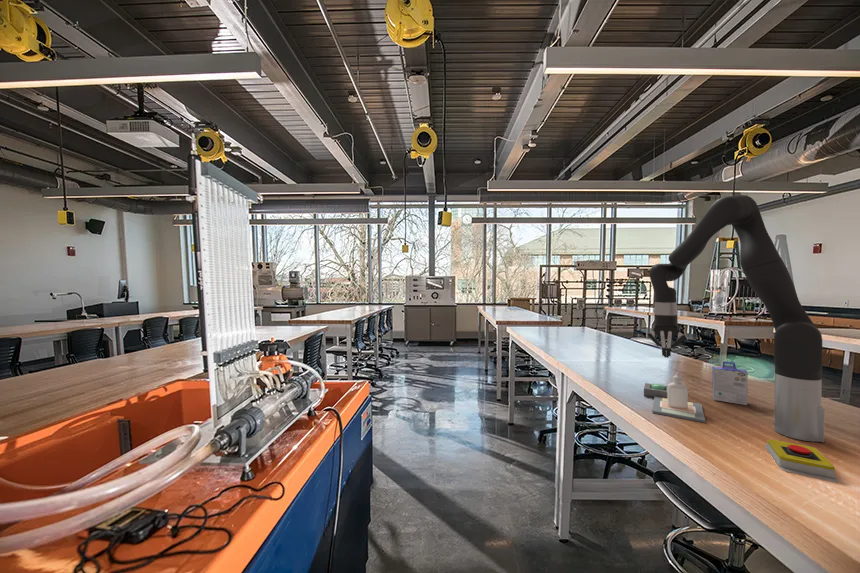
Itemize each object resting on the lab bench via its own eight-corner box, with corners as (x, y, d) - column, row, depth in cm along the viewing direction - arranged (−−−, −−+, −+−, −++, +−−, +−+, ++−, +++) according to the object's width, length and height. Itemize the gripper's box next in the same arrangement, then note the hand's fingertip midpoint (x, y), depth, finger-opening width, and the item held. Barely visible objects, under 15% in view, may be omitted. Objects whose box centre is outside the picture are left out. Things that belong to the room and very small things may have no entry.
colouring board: (701, 406, 120) (701, 403, 120) (705, 422, 105) (705, 420, 105) (654, 398, 128) (654, 395, 128) (652, 412, 114) (652, 410, 114)
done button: (664, 392, 132) (664, 385, 132) (664, 395, 129) (664, 387, 129) (651, 390, 135) (651, 383, 135) (651, 393, 131) (651, 385, 131)
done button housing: (672, 394, 133) (672, 386, 133) (672, 400, 125) (672, 392, 125) (645, 390, 138) (645, 382, 138) (643, 396, 131) (643, 388, 131)
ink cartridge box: (746, 401, 124) (746, 363, 124) (748, 406, 120) (748, 366, 120) (711, 396, 130) (711, 359, 130) (712, 400, 126) (712, 362, 126)
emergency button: (781, 454, 79) (763, 430, 91) (781, 472, 79) (763, 446, 91) (840, 465, 74) (812, 439, 86) (840, 485, 74) (812, 456, 86)
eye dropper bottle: (686, 410, 113) (686, 375, 113) (666, 406, 117) (666, 372, 117) (688, 407, 116) (688, 373, 116) (668, 403, 120) (668, 370, 120)
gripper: (645, 313, 133) (646, 357, 133) (687, 315, 125) (687, 360, 125) (646, 312, 139) (647, 353, 139) (686, 313, 131) (687, 357, 131)
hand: (666, 357), depth 132 cm, fingers closed
